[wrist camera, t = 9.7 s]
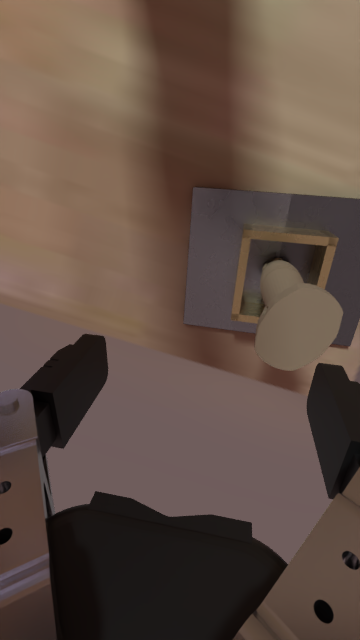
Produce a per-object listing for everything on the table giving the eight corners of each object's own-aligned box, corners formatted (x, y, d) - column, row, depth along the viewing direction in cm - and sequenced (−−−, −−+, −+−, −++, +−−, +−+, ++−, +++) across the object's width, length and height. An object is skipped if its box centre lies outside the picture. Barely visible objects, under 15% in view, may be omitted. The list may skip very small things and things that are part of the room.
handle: (313, 256, 33) (359, 311, 20) (278, 304, 36) (299, 380, 23) (273, 234, 33) (293, 275, 20) (242, 285, 36) (241, 350, 23)
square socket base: (194, 186, 33) (187, 188, 29) (395, 201, 30) (420, 205, 26) (184, 321, 40) (177, 338, 36) (348, 343, 37) (361, 364, 33)
